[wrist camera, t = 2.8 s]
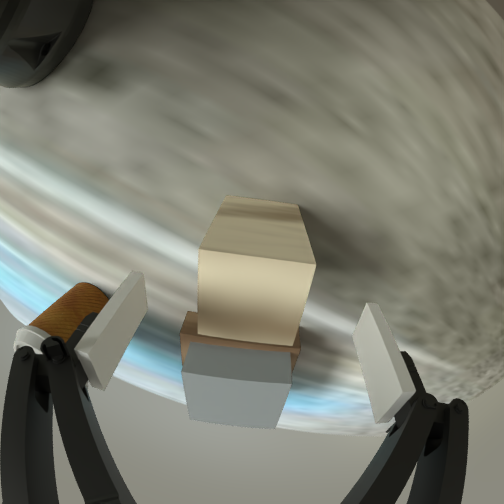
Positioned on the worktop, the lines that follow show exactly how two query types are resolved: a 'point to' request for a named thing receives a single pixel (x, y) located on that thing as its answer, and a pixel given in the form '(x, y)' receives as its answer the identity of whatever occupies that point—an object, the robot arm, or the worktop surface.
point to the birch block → (254, 272)
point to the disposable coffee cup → (62, 317)
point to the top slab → (236, 385)
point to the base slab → (230, 340)
